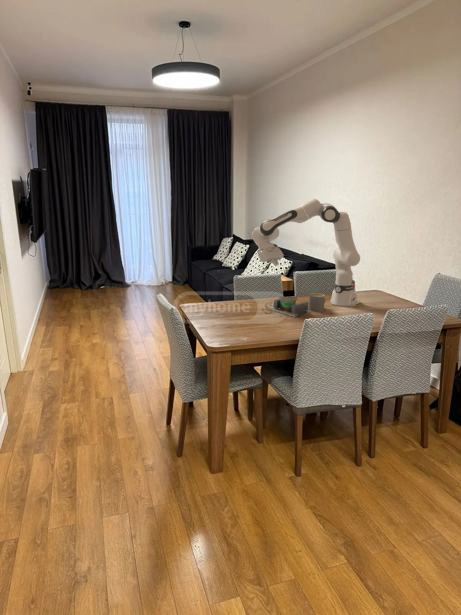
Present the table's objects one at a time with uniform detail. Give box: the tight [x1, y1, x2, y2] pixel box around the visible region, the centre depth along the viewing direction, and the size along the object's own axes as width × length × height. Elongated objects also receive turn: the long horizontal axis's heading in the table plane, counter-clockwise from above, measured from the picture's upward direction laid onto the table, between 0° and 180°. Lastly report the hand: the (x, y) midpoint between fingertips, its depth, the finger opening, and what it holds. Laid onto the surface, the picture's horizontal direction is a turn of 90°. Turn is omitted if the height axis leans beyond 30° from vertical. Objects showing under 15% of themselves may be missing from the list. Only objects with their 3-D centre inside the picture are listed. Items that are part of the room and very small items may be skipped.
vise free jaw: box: [273, 298, 280, 309], centre depth 291 cm, size 14×3×6 cm, turn 134°
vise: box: [266, 300, 311, 318], centre depth 288 cm, size 16×23×7 cm
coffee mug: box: [308, 292, 326, 313], centre depth 293 cm, size 13×10×10 cm
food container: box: [278, 295, 298, 312], centre depth 285 cm, size 12×6×10 cm, turn 98°
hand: (276, 265), depth 294 cm, fingers closed
